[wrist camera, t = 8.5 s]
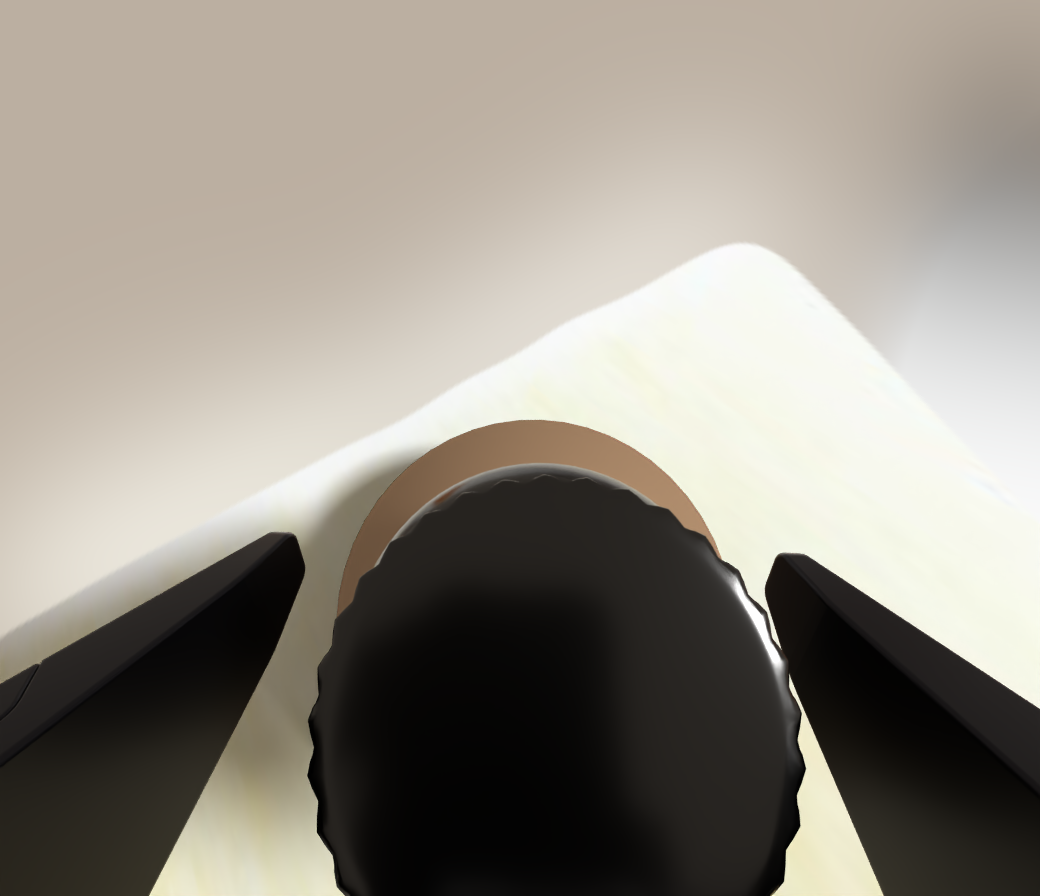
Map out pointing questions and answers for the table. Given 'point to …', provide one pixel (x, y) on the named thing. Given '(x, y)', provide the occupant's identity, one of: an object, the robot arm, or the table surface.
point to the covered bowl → (500, 450)
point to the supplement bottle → (554, 704)
